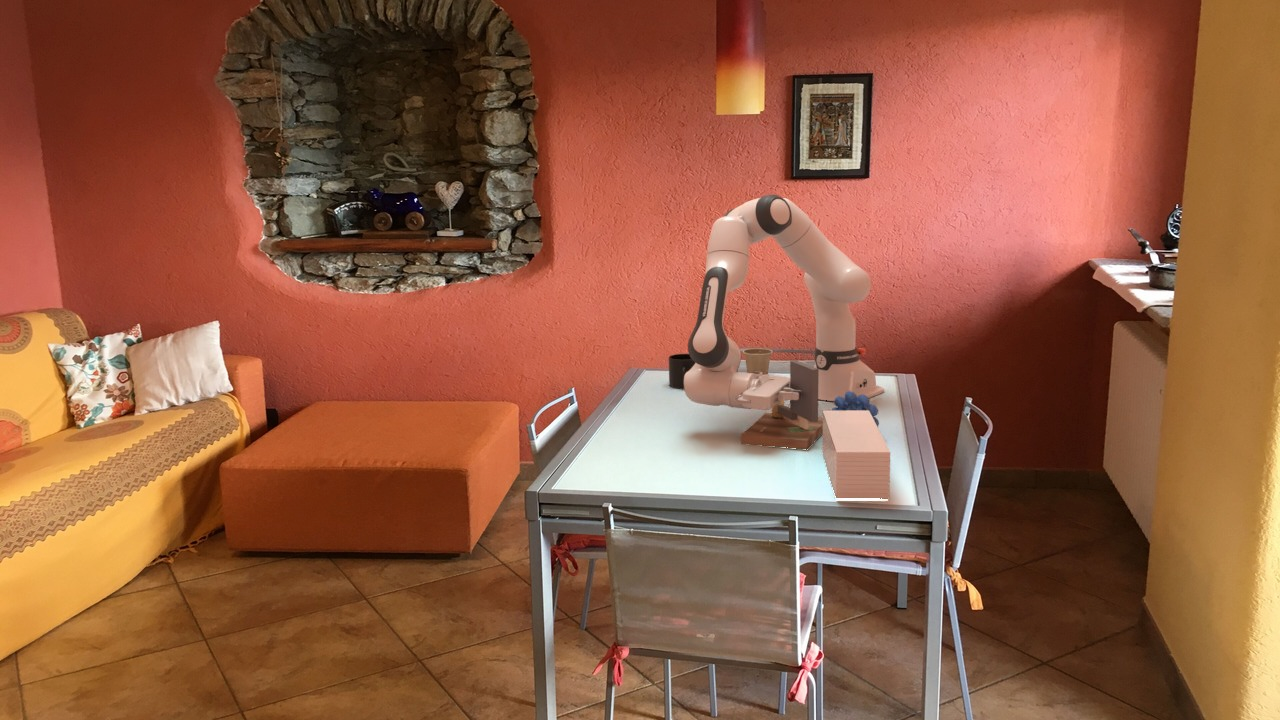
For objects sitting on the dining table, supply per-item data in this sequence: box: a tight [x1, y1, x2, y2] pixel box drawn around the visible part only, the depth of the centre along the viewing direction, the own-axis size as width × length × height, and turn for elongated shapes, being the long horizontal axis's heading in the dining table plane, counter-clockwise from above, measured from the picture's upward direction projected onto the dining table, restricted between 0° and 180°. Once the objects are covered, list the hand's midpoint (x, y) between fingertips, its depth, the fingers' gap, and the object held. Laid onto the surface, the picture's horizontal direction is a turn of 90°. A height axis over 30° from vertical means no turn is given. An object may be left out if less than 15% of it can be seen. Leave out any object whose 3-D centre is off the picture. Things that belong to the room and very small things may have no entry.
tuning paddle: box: [771, 360, 819, 429], centre depth 241 cm, size 21×3×16 cm, turn 20°
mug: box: [668, 353, 695, 390], centre depth 296 cm, size 9×12×9 cm
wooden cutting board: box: [740, 412, 823, 451], centre depth 243 cm, size 21×16×3 cm
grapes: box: [831, 391, 880, 427], centre depth 237 cm, size 12×7×12 cm, turn 83°
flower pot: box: [742, 347, 773, 375], centre depth 304 cm, size 9×9×9 cm
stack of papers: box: [821, 410, 891, 499], centre depth 211 cm, size 32×11×11 cm, turn 174°
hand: (800, 395), depth 234 cm, fingers closed
